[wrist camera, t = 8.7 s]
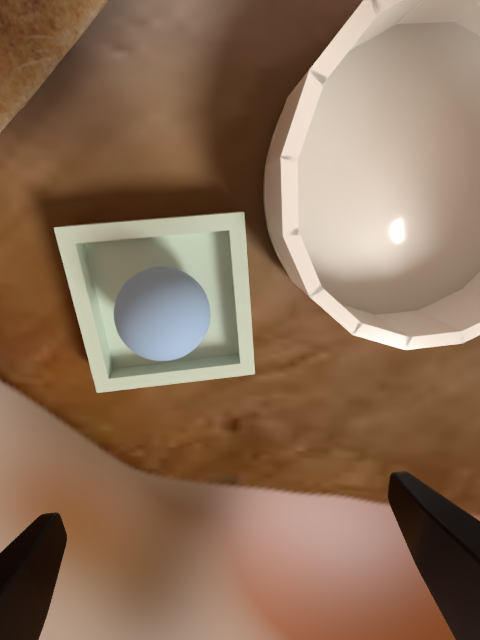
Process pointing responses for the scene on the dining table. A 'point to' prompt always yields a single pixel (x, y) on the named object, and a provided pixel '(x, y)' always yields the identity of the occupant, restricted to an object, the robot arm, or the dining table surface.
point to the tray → (161, 251)
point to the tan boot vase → (36, 45)
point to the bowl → (385, 175)
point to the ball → (162, 313)
